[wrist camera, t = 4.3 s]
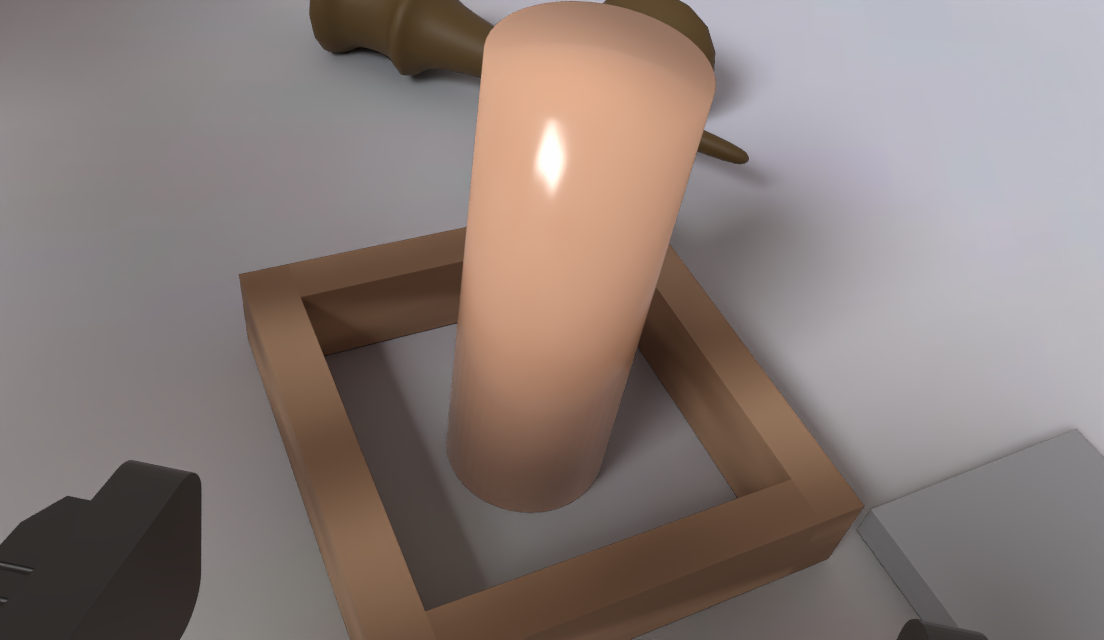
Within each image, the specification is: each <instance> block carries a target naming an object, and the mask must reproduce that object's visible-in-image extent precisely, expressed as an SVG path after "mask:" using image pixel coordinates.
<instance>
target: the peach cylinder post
mask: <svg viewBox="0 0 1104 640" xmlns="http://www.w3.org/2000/svg"><path fill="white" fill-rule="evenodd" d="M715 89H716V79H715V75H714V71H713V69H712V66H711V64H710V62H709V61H708V59H707V58H706V56H705V55H704V53H703V52H702V51H701V50H700V49H699V48H698V47H697V46H696V45H695V44H694V43H693V42H692V41H691V40H690V39H688V38H687V37H686V36H684V35H683V34H682V33H680V32H679V31H677V30H676V29H674V28H672V27H671V26H669V25H667V24H665V23H663V22H661V21H659V20H657V19H655V18H652V17H650V16H647V15H645V14H642V13H639V12H636V11H633V10H630V9H626V8H622V7H618V6H613V5H608V4H602V3H594V2H581V1H561V2H551V3H544V4H539V5H534V6H531V7H527V8H524V9H521V10H519V11H516V12H514V13H512V14H510V15H509V16H507V17H505V18H504V19H502V20H501V21H500V22H499V23H497V24H496V25H495V26H494V28H493V29H492V30H491V31H490V33H489V35H488V36H487V38H486V42H485V45H484V53H483V63H482V74H481V84H480V94H479V105H478V115H477V125H476V136H475V146H474V156H473V167H472V177H471V187H470V198H469V208H468V219H467V229H466V239H465V250H464V260H463V270H462V281H461V291H460V301H459V312H458V322H457V333H456V343H455V353H454V364H453V374H452V384H451V395H450V405H449V415H448V426H447V437H446V448H447V454H448V458H449V462H450V464H451V466H452V469H453V470H454V472H455V474H456V475H457V477H458V478H459V480H460V481H461V482H462V483H463V484H464V485H465V486H466V487H467V488H468V489H469V490H470V491H471V492H472V493H474V494H475V495H476V496H478V497H479V498H481V499H482V500H484V501H486V502H488V503H490V504H492V505H495V506H497V507H500V508H503V509H507V510H511V511H517V512H528V513H533V512H544V511H550V510H554V509H557V508H560V507H563V506H565V505H567V504H569V503H571V502H573V501H574V500H576V499H578V498H579V497H580V496H581V495H583V494H584V493H585V492H586V491H587V490H588V489H589V488H590V486H591V485H592V484H593V482H594V481H595V479H596V478H597V475H598V473H599V471H600V468H601V465H602V461H603V458H604V455H605V451H606V448H607V445H608V442H609V438H610V435H611V432H612V428H613V425H614V422H615V419H616V415H617V412H618V409H619V406H620V402H621V399H622V396H623V392H624V389H625V386H626V383H627V379H628V376H629V373H630V369H631V366H632V363H633V360H634V356H635V353H636V350H637V347H638V343H639V340H640V337H641V333H642V330H643V327H644V324H645V320H646V317H647V314H648V311H649V307H650V304H651V301H652V297H653V294H654V291H655V288H656V284H657V281H658V278H659V274H660V271H661V268H662V265H663V261H664V258H665V255H666V252H667V248H668V245H669V242H670V238H671V235H672V232H673V229H674V225H675V222H676V219H677V215H678V212H679V209H680V206H681V202H682V199H683V196H684V193H685V189H686V186H687V183H688V179H689V176H690V173H691V170H692V166H693V163H694V160H695V156H696V153H697V150H698V147H699V143H700V140H701V137H702V134H703V130H704V127H705V124H706V120H707V117H708V114H709V111H710V107H711V104H712V101H713V97H714V93H715Z"/></svg>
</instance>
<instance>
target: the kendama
mask: <svg viewBox="0 0 1104 640" xmlns="http://www.w3.org/2000/svg"><path fill="white" fill-rule="evenodd" d="M603 4H608V5H613V6H618V7H622V8H626V9H630V10H633V11H636V12H639V13H642V14H645V15H647V16H650V17H652V18H655V19H657V20H659V21H661V22H663V23H665V24H667V25H669V26H671V27H672V28H674V29H676V30H677V31H679V32H680V33H682V34H683V35H684V36H686V37H687V38H688V39H690V40H691V41H692V42H693V43H694V44H695V45H696V46H697V47H698V48H699V49H700V50H701V51H702V52H703V53H704V55H705V56H706V58H707V59H708V61H709V62H710V64H711V66H712V69H713V71H714V64H715V50H714V47H713V43H712V40H711V37H710V33H709V30H708V27H707V26H706V25H705V23H704V22H703V21H702V20H701V19H700V18H699V17H698V15H697V14H696V13H695V12H694V11H693V10H692V9H691V8H690V6H688V5H687V4H685V3H683V2H681V1H680V0H606V1H605V2H604V3H603ZM309 15H310V19H311V23H312V27H313V32H314V36H315V38H316V39H317V41H318V42H319V43H320V45H321V46H322V47H323V49H325V50H327V51H329V52H348V51H350V50H352V49H354V48H357V47H365V48H369V49H372V50H375V51H377V52H380V53H382V54H384V55H386V56H387V57H389V58H390V59H391V61H392V63H393V64H394V66H395V67H396V68H397V70H398V71H399V73H400V74H402V75H417V74H419V73H421V72H422V71H424V70H428V69H442V70H449V71H454V72H459V73H464V74H468V75H472V76H476V77H481V74H482V63H483V53H484V45H485V42H486V38H487V36H488V35H489V33H490V31H491V30H492V29H493V28H494V26H493V25H492V24H490V23H489V22H487V21H485V20H484V19H482V18H481V17H479V16H478V15H476V14H475V13H474V12H472V11H471V10H470V9H468V8H467V7H466V6H464V5H463V4H462V3H461V2H460V1H459V0H310V11H309ZM697 151H698V152H701V153H703V154H706V155H709V156H712V157H715V158H718V159H721V160H724V161H728V162H731V163H735V164H744V163H746V162H748V160H749V157H748V155H747V153H746V152H745V151H743V150H742V149H741V148H739V147H737V146H735V145H734V144H732V143H730V142H728V141H726V140H724V139H722V138H720V137H718V136H716V135H714V134H711V133H709V132H707V131H705V130H703V134H702V137H701V140H700V143H699V147H698V150H697Z"/></svg>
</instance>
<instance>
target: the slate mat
mask: <svg viewBox="0 0 1104 640" xmlns="http://www.w3.org/2000/svg"><path fill="white" fill-rule="evenodd" d="M857 531H858V532H859V534H860V535H861V537H862V538H863V539H864V541H865V542H866V543H867V545H868V546H869V548H870V549H871V550H872V552H873V553H874V554H875V556H876V557H877V559H878V560H879V561H880V563H881V564H882V565H883V567H884V568H885V570H886V571H887V572H888V574H889V575H890V576H891V578H892V579H893V581H894V582H895V583H896V585H897V586H898V587H899V589H900V590H901V592H902V593H903V594H904V596H905V597H906V598H907V600H908V601H909V603H910V604H911V605H912V607H913V608H914V610H915V611H916V612H917V614H918V615H919V616H920V618H921V619H922V620H923V621H928V622H933V623H938V624H943V625H948V626H953V627H958V628H962V629H967V630H972V631H977V632H980V633H983V634H984V635H985V636H986V637H987V639H988V640H1104V457H1103V456H1102V455H1101V454H1100V453H1099V452H1098V451H1097V450H1096V449H1095V448H1094V447H1093V445H1092V444H1091V443H1090V442H1089V441H1088V440H1087V439H1086V438H1085V437H1084V436H1083V435H1082V434H1081V433H1080V432H1079V431H1078V430H1077V429H1075V430H1072V431H1070V432H1067V433H1064V434H1062V435H1059V436H1057V437H1054V438H1052V439H1049V440H1047V441H1044V442H1041V443H1039V444H1036V445H1034V446H1031V447H1029V448H1026V449H1024V450H1021V451H1019V452H1016V453H1013V454H1011V455H1008V456H1006V457H1003V458H1001V459H998V460H996V461H993V462H990V463H988V464H985V465H983V466H980V467H978V468H975V469H973V470H970V471H967V472H965V473H962V474H960V475H957V476H955V477H952V478H950V479H947V480H944V481H942V482H939V483H937V484H934V485H932V486H929V487H927V488H924V489H922V490H919V491H916V492H914V493H911V494H909V495H906V496H904V497H901V498H899V499H896V500H893V501H891V502H888V503H886V504H883V505H881V506H878V507H876V508H873V509H871V510H870V511H869V513H868V514H867V516H866V517H865V518H864V520H863V521H862V523H861V524H860V526H859V527H858V528H857Z"/></svg>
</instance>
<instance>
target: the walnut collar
mask: <svg viewBox="0 0 1104 640" xmlns="http://www.w3.org/2000/svg"><path fill="white" fill-rule="evenodd" d="M466 229H467V227H464V228H460V229H455V230H450V231H445V232H440V233H436V234H431V235H426V236H421V237H416V238H412V239H407V240H402V241H397V242H392V243H387V244H383V245H378V246H373V247H368V248H363V249H359V250H354V251H349V252H344V253H339V254H335V255H330V256H325V257H320V258H315V259H310V260H306V261H301V262H296V263H291V264H286V265H282V266H277V267H272V268H267V269H262V270H258V271H253V272H248V273H243V274H239V278H240V285H241V293H242V300H243V307H244V314H245V321H246V328H247V335H248V340H249V343H250V346H251V349H252V352H253V355H254V358H255V361H256V364H257V367H258V370H259V372H260V375H261V378H262V381H263V384H264V387H265V390H266V393H267V396H268V399H269V402H270V405H271V408H272V411H273V414H274V417H275V420H276V423H277V425H278V428H279V431H280V434H281V437H282V440H283V443H284V446H285V449H286V452H287V455H288V458H289V461H290V464H291V467H292V470H293V473H294V475H295V478H296V481H297V484H298V487H299V490H300V493H301V496H302V499H303V502H304V505H305V508H306V511H307V514H308V517H309V520H310V523H311V525H312V528H313V531H314V534H315V537H316V540H317V543H318V546H319V549H320V552H321V555H322V558H323V561H324V564H325V567H326V570H327V573H328V576H329V578H330V581H331V584H332V587H333V590H334V593H335V596H336V599H337V602H338V605H339V608H340V611H341V614H342V617H343V620H344V623H345V626H346V628H347V631H348V634H349V637H350V640H630V639H632V638H635V637H637V636H640V635H642V634H645V633H647V632H649V631H652V630H654V629H657V628H659V627H662V626H664V625H667V624H669V623H672V622H674V621H676V620H679V619H681V618H684V617H686V616H689V615H691V614H694V613H696V612H699V611H701V610H703V609H706V608H708V607H711V606H713V605H716V604H718V603H721V602H723V601H726V600H728V599H730V598H733V597H735V596H738V595H740V594H743V593H745V592H748V591H750V590H752V589H755V588H757V587H760V586H762V585H765V584H767V583H770V582H772V581H775V580H777V579H779V578H782V577H784V576H787V575H789V574H792V573H794V572H797V571H799V570H802V569H804V568H806V567H809V566H811V565H814V564H816V563H819V562H821V561H824V560H826V559H828V558H829V557H830V555H831V554H832V552H833V551H834V549H835V548H836V546H837V545H838V543H839V542H840V541H841V539H842V538H843V536H844V535H845V533H846V532H847V530H848V529H849V527H850V526H851V525H852V523H853V522H854V520H855V519H856V517H857V516H858V514H859V513H860V512H861V510H862V509H863V507H864V505H863V503H862V502H861V501H860V499H859V498H858V497H857V495H856V494H855V493H854V491H853V490H852V489H851V487H850V486H849V485H848V483H847V482H846V481H845V479H844V478H843V477H842V475H841V474H840V473H839V471H838V470H837V468H836V467H835V466H834V464H833V463H832V462H831V460H830V459H829V458H828V456H827V455H826V454H825V452H824V451H823V450H822V448H821V447H820V446H819V444H818V443H817V442H816V440H815V439H814V438H813V436H812V435H811V434H810V432H809V431H808V430H807V428H806V427H805V426H804V424H803V423H802V421H801V420H800V419H799V417H798V416H797V415H796V413H795V412H794V411H793V409H792V408H791V407H790V405H789V404H788V403H787V401H786V400H785V399H784V397H783V396H782V395H781V393H780V392H779V391H778V389H777V388H776V387H775V385H774V384H773V383H772V381H771V380H770V378H769V377H768V376H767V374H766V373H765V372H764V370H763V369H762V368H761V366H760V365H759V364H758V362H757V361H756V360H755V358H754V357H753V356H752V354H751V353H750V352H749V350H748V349H747V348H746V346H745V345H744V344H743V342H742V341H741V340H740V338H739V337H738V335H737V334H736V333H735V331H734V330H733V329H732V327H731V326H730V325H729V323H728V322H727V321H726V319H725V318H724V317H723V315H722V314H721V313H720V311H719V310H718V309H717V307H716V306H715V305H714V303H713V302H712V301H711V299H710V298H709V297H708V295H707V294H706V292H705V291H704V290H703V288H702V287H701V286H700V284H699V283H698V282H697V280H696V279H695V278H694V276H693V275H692V274H691V272H690V271H689V270H688V268H687V267H686V266H685V264H684V263H683V262H682V260H681V259H680V258H679V256H678V255H677V254H676V252H675V251H674V249H673V248H672V247H671V245H670V244H669V245H668V248H667V252H666V255H665V258H664V261H663V265H662V268H661V271H660V274H659V278H658V281H657V284H656V288H655V291H654V294H653V297H652V301H651V304H650V307H649V311H648V314H647V317H646V320H645V324H644V327H643V330H642V333H641V337H640V340H639V343H638V347H639V348H640V350H641V351H642V353H643V355H644V356H645V358H646V359H647V361H648V362H649V364H650V365H651V367H652V368H653V370H654V371H655V373H656V374H657V376H658V377H659V379H660V380H661V382H662V383H663V385H664V387H665V388H666V390H667V391H668V393H669V394H670V396H671V397H672V399H673V400H674V402H675V403H676V405H677V406H678V408H679V409H680V411H681V412H682V414H683V415H684V417H685V419H686V420H687V422H688V423H689V425H690V426H691V428H692V429H693V431H694V432H695V434H696V435H697V437H698V438H699V440H700V441H701V443H702V444H703V446H704V447H705V449H706V450H707V452H708V454H709V455H710V457H711V458H712V460H713V461H714V463H715V464H716V466H717V467H718V469H719V470H720V472H721V473H722V475H723V476H724V478H725V479H726V481H727V482H728V484H729V486H730V487H731V489H732V490H733V492H734V493H735V495H736V496H737V499H735V500H732V501H729V502H726V503H724V504H721V505H718V506H715V507H713V508H710V509H707V510H704V511H702V512H699V513H696V514H693V515H690V516H688V517H685V518H682V519H679V520H677V521H674V522H671V523H668V524H666V525H663V526H660V527H657V528H655V529H652V530H649V531H646V532H644V533H641V534H638V535H635V536H632V537H630V538H627V539H624V540H621V541H619V542H616V543H613V544H610V545H608V546H605V547H602V548H599V549H597V550H594V551H591V552H588V553H586V554H583V555H580V556H577V557H574V558H572V559H569V560H566V561H563V562H561V563H558V564H555V565H552V566H550V567H547V568H544V569H541V570H539V571H536V572H533V573H530V574H528V575H525V576H522V577H519V578H516V579H514V580H511V581H508V582H505V583H503V584H500V585H497V586H494V587H492V588H489V589H486V590H483V591H481V592H478V593H475V594H472V595H470V596H467V597H464V598H461V599H458V600H456V601H453V602H450V603H447V604H445V605H442V606H439V607H436V608H434V609H431V610H428V611H425V610H424V607H423V605H422V602H421V600H420V597H419V595H418V592H417V590H416V587H415V585H414V582H413V580H412V577H411V575H410V572H409V569H408V567H407V564H406V562H405V559H404V557H403V554H402V552H401V549H400V547H399V544H398V542H397V539H396V537H395V534H394V532H393V529H392V527H391V524H390V522H389V519H388V517H387V514H386V511H385V509H384V506H383V504H382V501H381V499H380V496H379V494H378V491H377V489H376V486H375V484H374V481H373V479H372V476H371V474H370V471H369V469H368V466H367V464H366V461H365V459H364V456H363V453H362V451H361V448H360V446H359V443H358V441H357V438H356V436H355V433H354V431H353V428H352V426H351V423H350V421H349V418H348V416H347V413H346V411H345V408H344V406H343V403H342V401H341V398H340V395H339V393H338V390H337V388H336V385H335V383H334V380H333V378H332V375H331V373H330V370H329V368H328V365H327V363H326V360H325V358H324V355H328V354H332V353H336V352H340V351H345V350H349V349H353V348H357V347H361V346H365V345H369V344H373V343H377V342H381V341H385V340H389V339H393V338H397V337H401V336H405V335H409V334H413V333H417V332H422V331H426V330H430V329H434V328H438V327H442V326H446V325H450V324H454V323H457V322H458V312H459V301H460V291H461V281H462V270H463V260H464V250H465V239H466Z"/></svg>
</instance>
